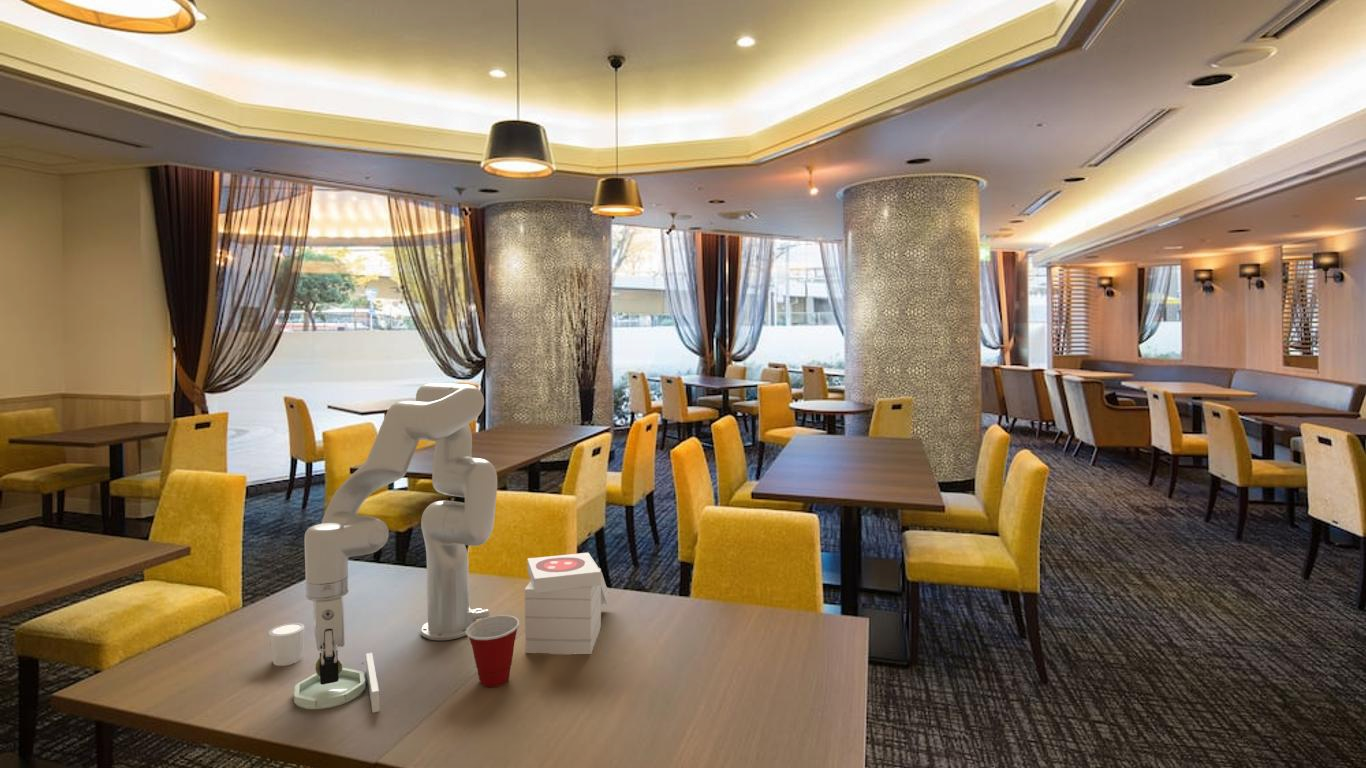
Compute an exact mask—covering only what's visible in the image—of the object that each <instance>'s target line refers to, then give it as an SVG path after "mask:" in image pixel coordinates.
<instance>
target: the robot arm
mask: <svg viewBox="0 0 1366 768" xmlns="http://www.w3.org/2000/svg"><path fill="white" fill-rule="evenodd" d="M415 394H416V395H415V400H404V401H402V400H401V401H398V402H395V403H393V404H392V405H391V406H390V407H389V408H388V409H387V411H386V414H385V416H384V418H383V421H382V423H381V426H380V428H379V429H378V432H377V434H376V437H375V439H374V442H373V444H372V446H371V448H370V451H369V454H368V456H367V458H366V461H365V462H364V464H362V465H361V466H360V467H359V468H358V469H356V470H355V471H354V472H353V473H352V474H351V475H350V476H348V478H347V479H346V480H345V481H344V482H343V483H342V484H341V485H340V486H338V488H337V490H336V491H335V492H334V494H333V495H332V497H331V499H330V501H329V502H328V503H329V504H328V505H327V507H326V509H325V511H324V515H323V517H322V520H321V523H318V524H314V525H312V526H310V527H308V528H307V529H306V530H305V533H304V564H305V566H304V567H305V569H304V570H305V571H304V573H305V598H306V600H308V601H312V608H313V611H312V613H313V628H314V637H315V644H316V650H318V651H319V658H320V657H321V664H320V684H321V685H323V684H328V683H333V682H337V681H338V680H339V674H338V661H337V659H338V655H339V654H338V653H339V652H338V647H339V648H343V647H344V646H345V643H346V642H345V609H344V608H345V607H344V596H346V595H347V594H348V593H349V558H351V557H357V556H365V555H370V554H373V553H376V552H378V551H380V549H382V548H384V546H385V545H386V544H387V542H388V540H389V535H390V531H389V528H388V526H387V524H386V523H385V522H384V521H383V520H381V519H379V518H377V517H374V516H369V515H361V514H358V512H359V510H360V508H361V507H362V505H363V503H364V502H365V500H366V499H367V498H368V497H370V496H371V495H372V494H373V493H374V492H376V491H378V490H379V489H381V488H383V487H386V486H388V485H390V484H393V483H395V482H397V481H399V480H402V478H404V477H405V475H406V474H407V472H408V469H409V468H410V467H409V466H410V464H411V462H412V459H413V456H414V454H415V451H416V449H417V447H418V445H419V442H420V441H429V442H434V453H433V456H434V457H433V464H432V473H431V474H432V477H431V480H432V483H431V484H432V487H433V489H434V490H435V491H436V493H439V494H442V495H446V496H452V497H459V498H464V502H462V501H454V500H438V501H437V500H436V501H434V502H432V503H430V504H429V505H428V506H426V508H425V509H424V510H423V512H422V514H421V515H422V516H421V521H420V524H421V525H420V526H421V532H422V536H423V539H424V547H425V553H426V556H425V557H426V588H427V589H426V590H427V591H426V596H427V599H426V600H427V621H426V622H425V623H424V624H422V626H421V629H420V632H421V633H420V634H421V636H422V637H424V638H425V639H428V640H431V641H450V640H457V639H460V638H463V637H465V636H467V635H466V633H465V632H466V628H467V627H468V626H469V625H471V624H472V623H474V622H476V621H477V620H480V619H483V618H486V617H490V611H489V609H482V607H479V608H475V609H472V608H471V607H470V593H469V592H470V590H469V589H470V588H469V586H470V585H469V583H470V581H469V579H470V578H469V555H468V554H469V553H468V550H467V547H466V546H469V547H470V546H473V547H478V546H481V545H483V544H485V543H486V542H487V541H488V540H489V539H490V537H491V535H492V533H493V529H494V524H495V519H496V518H495V517H496V516H495V515H496V507H497V506H496V505H497V494H498V492H497V491H498V473H497V470H496V468H495V466H494V465H493V463H492V462H490V461H489V460H487V459H485V458H480V457H473V454H472V450H473V449H472V447H473V434H472V429H471V426H470V424H471V423H472V422H474V421H475V420H476V419H477V418H478V417H479V416H480V415H481V413H482V412H483V409H484V406H485V399H484V398H485V397H484V394H483V393H482V391H481V389H479V388H478V387H477V386H475V385H471V384H468V383H467V384H465V383H463V384H462V383H447V382H430V383H426V384H423V385H421V386H420V387H419V388H417V391H416V393H415ZM338 660H339V659H338Z"/></svg>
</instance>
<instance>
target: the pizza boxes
mask: <svg viewBox="0 0 1366 768" xmlns="http://www.w3.org/2000/svg"><path fill="white" fill-rule="evenodd" d="M526 559H527V561H526V562H527V563H526V564H527V565H526V567H527V573H528V577H529V579H530V581H529V582H528V584H527V585H526V586H525V588H524V636H525V638H524V640H525V641H524V642H525V645H524V647H525V648H524V649H525V652H524V653H551V654H550V655H571V654H574V653H576V654H577V653H578V654H591V655H592V653H593V651H594V648H593V647H595V645H596V642H597V640H596V639H598V636H599V633H600V630H601V629H600V628H602V605H606V606H607V605H608V603H609V602H608V599H609V589H608V587H607V585H606V581H605V578H604V575H603V572H602V568H600V567H598V564H597V563H596V562H595V560H594V559H593V557H592V556H591V554H590V553H589V552H580V553H579V552H578V553H569V554H559V555H550V556H540V557H539V556H538V557H528V558H526ZM592 650H593V651H592Z"/></svg>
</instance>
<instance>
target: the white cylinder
mask: <svg viewBox="0 0 1366 768" xmlns="http://www.w3.org/2000/svg"><path fill="white" fill-rule="evenodd" d="M268 637H269V643H270V650H271V658H272V663H273V665H275V666H278V667H280V666H281V667H284V666H289V665H293V663H294V664H296V663H298V662H300V661H301V660H302V659H303V654H304V642H305V641H304V639H305V624H303V623H299V622H291V623H285V624H281V625H277V626H274V627H273V628H271V629H270V630H269V632H268Z"/></svg>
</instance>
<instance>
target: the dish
mask: <svg viewBox="0 0 1366 768" xmlns="http://www.w3.org/2000/svg"><path fill="white" fill-rule="evenodd" d="M366 687H367V685H366V679H365V672H364V671H363V670H357V669H352V668H348V667H342V671H341V672H340V673H339V680H338V681H337V682H333V683H328V684H323V685H321V684H320V676H319V675H318V674H317V673H313V674H312V675H310V676H308V677H307V678H304V679H303V680H301V681H299V682H297V683H295V685H294V695H293V703H294V704H295V706H297V707H298V708H301V709H305V710H324V709H330V708H335V707H338V706H341V705H344V704H347V703H350V702H351V701H353V700H355V699H357V698H358V697H360V696H361V695H362V694H363V692H364V691H365V689H366Z"/></svg>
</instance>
